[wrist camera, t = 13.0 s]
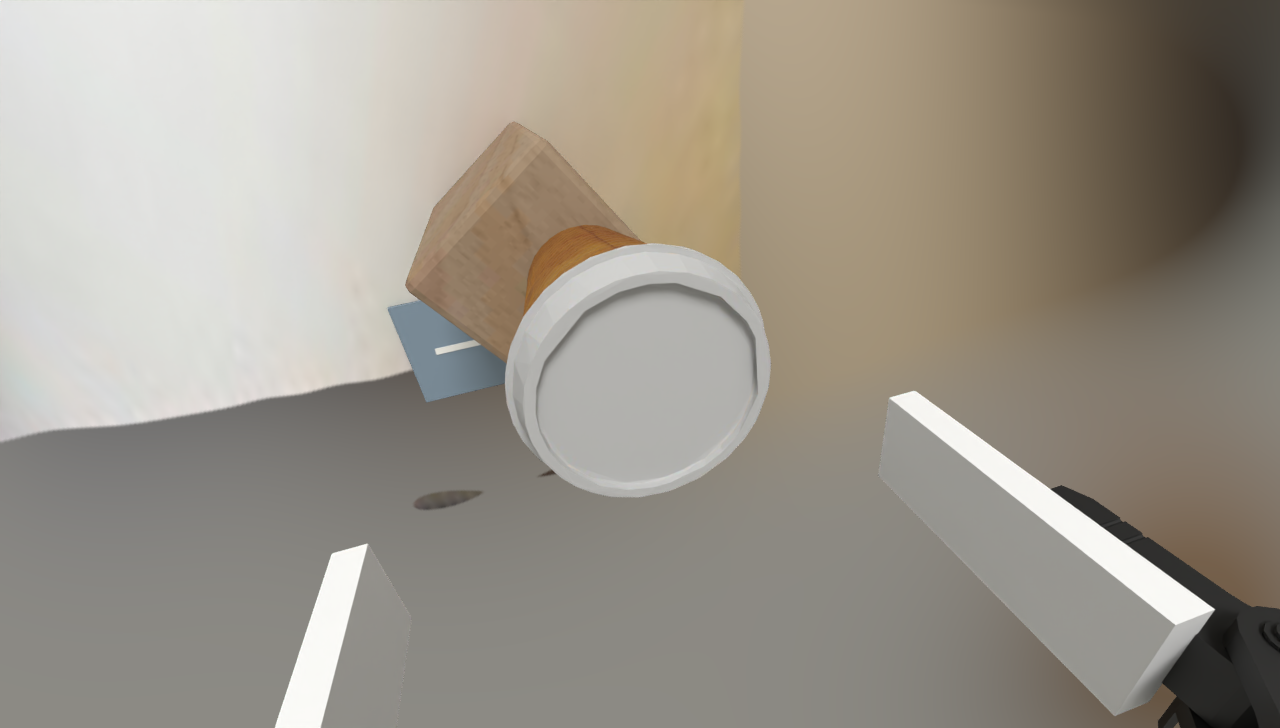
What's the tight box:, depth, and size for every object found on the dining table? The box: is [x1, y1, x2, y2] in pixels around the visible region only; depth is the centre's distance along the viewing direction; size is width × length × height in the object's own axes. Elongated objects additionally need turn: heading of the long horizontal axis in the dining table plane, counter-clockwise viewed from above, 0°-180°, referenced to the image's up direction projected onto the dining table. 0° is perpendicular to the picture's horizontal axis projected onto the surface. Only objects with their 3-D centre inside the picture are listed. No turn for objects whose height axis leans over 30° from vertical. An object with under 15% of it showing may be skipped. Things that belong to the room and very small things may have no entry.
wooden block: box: [405, 122, 642, 364], centre depth 35 cm, size 10×10×20 cm
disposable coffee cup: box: [505, 225, 771, 497], centre depth 22 cm, size 10×10×12 cm
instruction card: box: [388, 300, 506, 402], centre depth 49 cm, size 18×10×1 cm, turn 98°
